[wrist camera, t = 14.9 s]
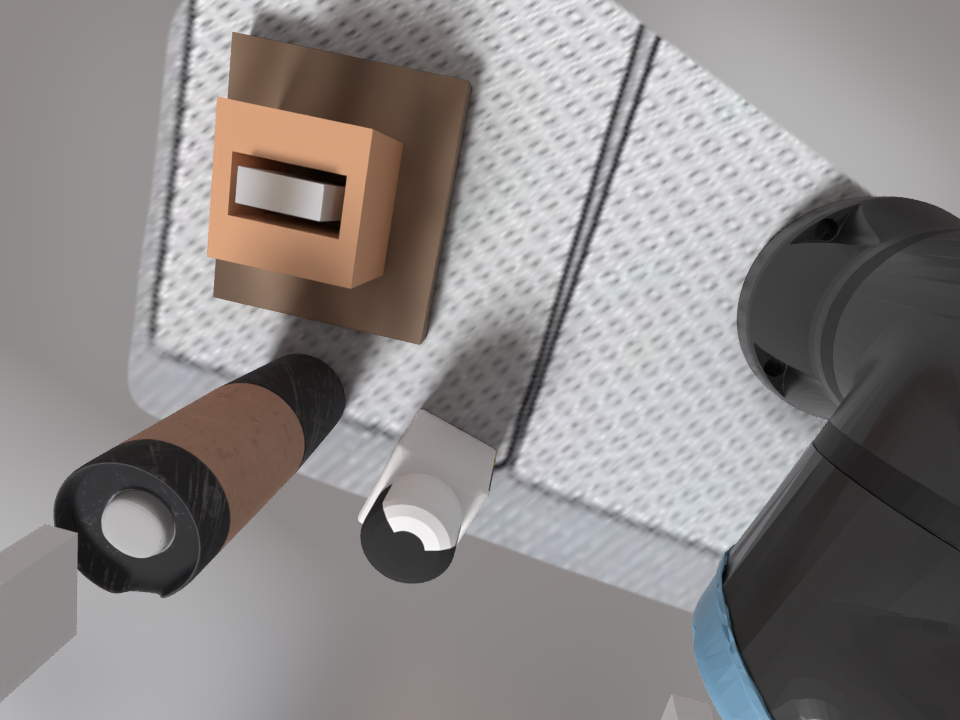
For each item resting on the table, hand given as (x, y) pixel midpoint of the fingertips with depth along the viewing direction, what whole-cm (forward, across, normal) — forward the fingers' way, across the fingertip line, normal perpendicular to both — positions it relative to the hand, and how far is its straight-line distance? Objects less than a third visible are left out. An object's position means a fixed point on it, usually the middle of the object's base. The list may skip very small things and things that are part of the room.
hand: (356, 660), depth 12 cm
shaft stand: (+31, +13, -8) cm, 35 cm away
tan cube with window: (+29, +13, -8) cm, 33 cm away
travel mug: (+31, +14, +8) cm, 35 cm away
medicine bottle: (+32, +2, +11) cm, 34 cm away
